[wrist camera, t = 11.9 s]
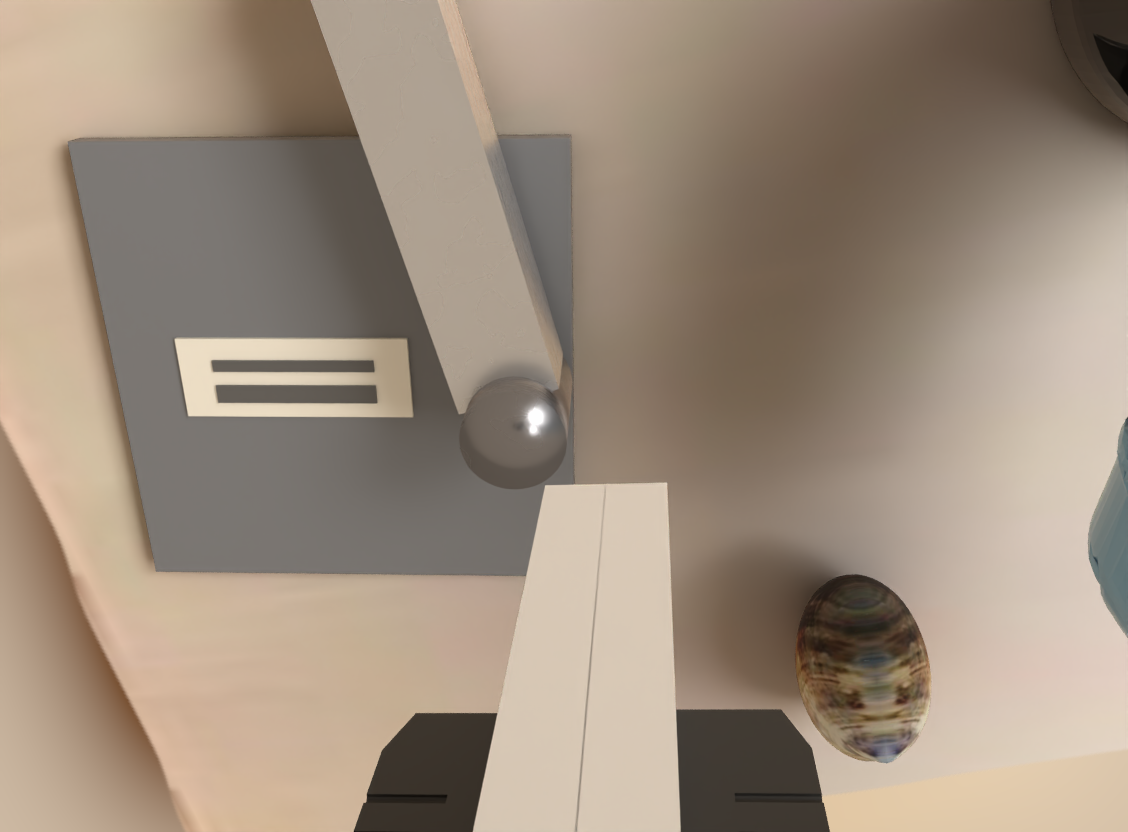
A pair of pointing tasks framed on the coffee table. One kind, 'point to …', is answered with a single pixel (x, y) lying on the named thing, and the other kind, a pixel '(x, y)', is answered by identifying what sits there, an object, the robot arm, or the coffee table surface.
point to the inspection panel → (299, 357)
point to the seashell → (863, 669)
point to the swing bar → (456, 228)
